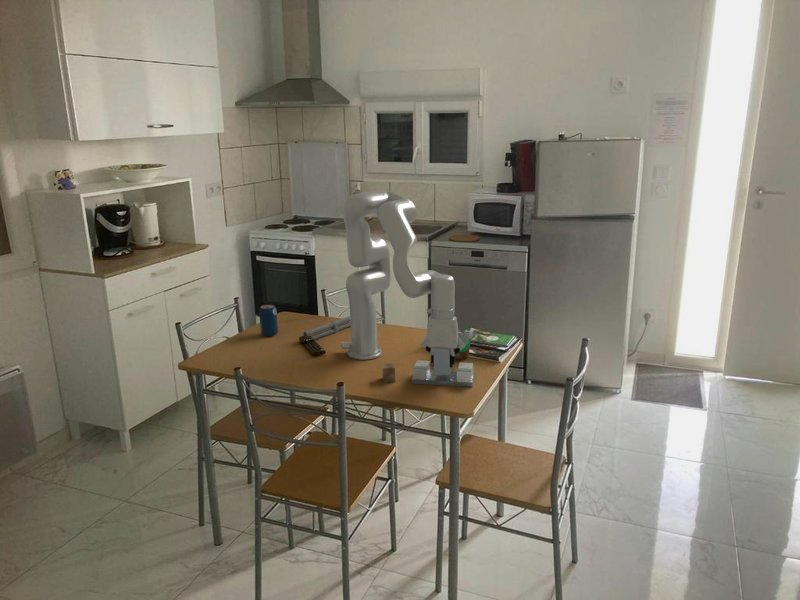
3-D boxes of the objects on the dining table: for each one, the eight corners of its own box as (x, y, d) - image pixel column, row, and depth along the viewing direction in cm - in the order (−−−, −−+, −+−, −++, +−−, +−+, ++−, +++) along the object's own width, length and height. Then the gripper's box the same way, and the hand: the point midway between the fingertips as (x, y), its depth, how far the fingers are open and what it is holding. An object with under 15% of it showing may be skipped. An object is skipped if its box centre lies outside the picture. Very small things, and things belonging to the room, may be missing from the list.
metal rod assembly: (308, 344, 255) (307, 332, 253) (303, 342, 256) (302, 330, 255) (353, 327, 273) (353, 315, 272) (348, 325, 275) (348, 314, 274)
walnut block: (383, 382, 217) (382, 368, 215) (382, 377, 221) (382, 363, 219) (395, 381, 217) (394, 367, 216) (394, 377, 221) (394, 363, 219)
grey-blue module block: (433, 374, 213) (433, 347, 211) (436, 366, 220) (436, 340, 217) (449, 375, 213) (449, 348, 210) (451, 367, 219) (451, 341, 216)
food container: (439, 362, 233) (439, 335, 230) (438, 355, 239) (438, 329, 236) (474, 361, 232) (474, 335, 230) (472, 355, 238) (473, 329, 236)
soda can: (282, 333, 267) (279, 305, 264) (270, 338, 261) (267, 309, 258) (269, 330, 271) (267, 303, 267) (257, 335, 265) (255, 307, 262)
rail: (411, 383, 215) (411, 368, 214) (415, 373, 223) (415, 359, 221) (472, 386, 211) (472, 371, 210) (474, 377, 219) (474, 362, 218)
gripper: (414, 315, 209) (415, 368, 214) (468, 317, 206) (467, 371, 211) (418, 308, 216) (419, 360, 221) (470, 310, 213) (469, 363, 218)
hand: (442, 365), depth 216 cm, fingers closed on grey-blue module block, 5 cm apart
